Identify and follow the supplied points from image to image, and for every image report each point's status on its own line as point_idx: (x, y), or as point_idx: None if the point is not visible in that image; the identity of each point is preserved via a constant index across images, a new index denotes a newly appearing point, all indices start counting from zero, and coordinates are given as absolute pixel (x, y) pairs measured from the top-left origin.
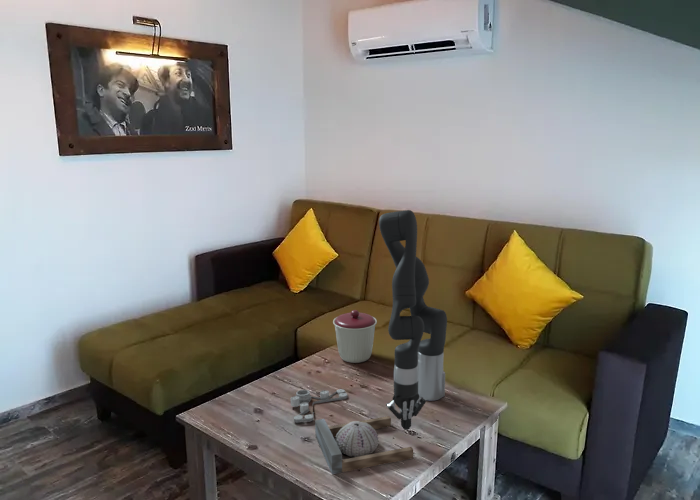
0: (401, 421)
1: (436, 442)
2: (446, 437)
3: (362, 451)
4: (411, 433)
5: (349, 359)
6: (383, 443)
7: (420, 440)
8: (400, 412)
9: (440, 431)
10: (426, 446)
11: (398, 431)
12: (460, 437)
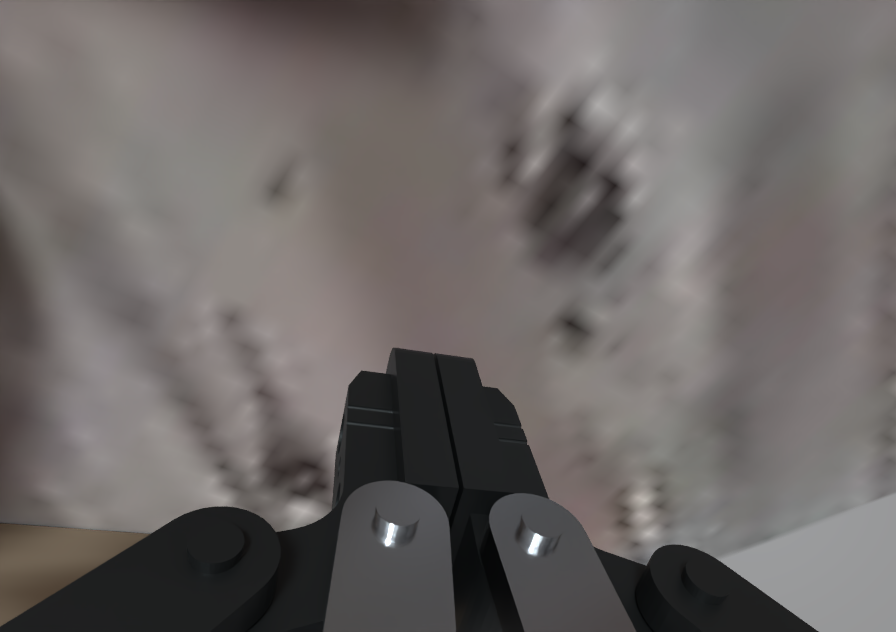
0: (341, 464)
1: (645, 472)
2: (782, 447)
3: None
4: (556, 219)
5: None
6: (73, 234)
7: (541, 384)
8: (324, 625)
9: (836, 343)
10: None
11: (437, 78)
12: (867, 493)
